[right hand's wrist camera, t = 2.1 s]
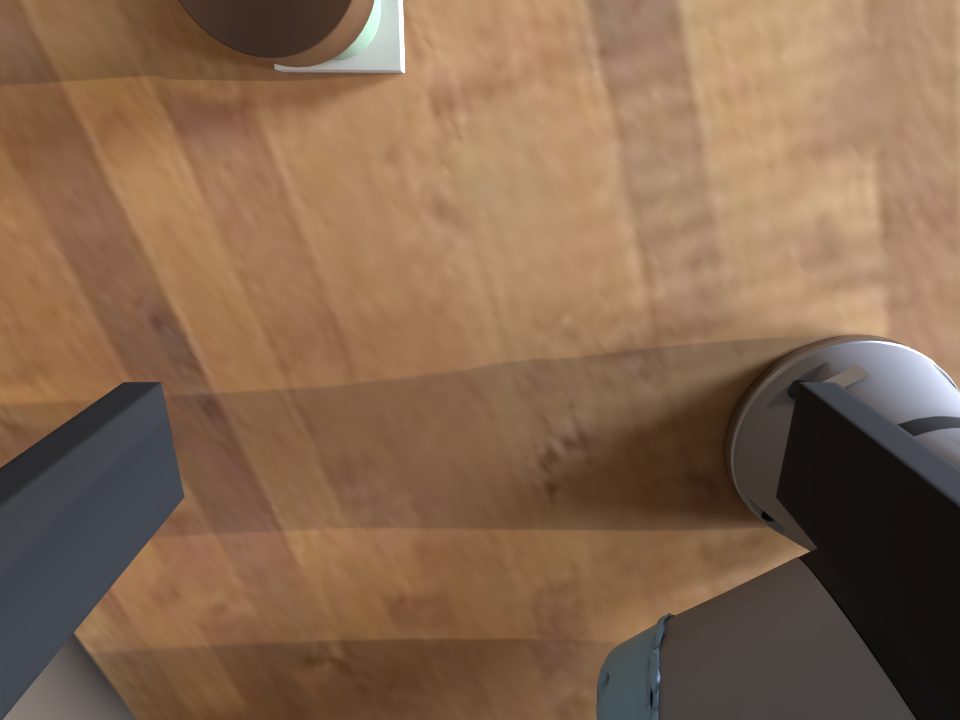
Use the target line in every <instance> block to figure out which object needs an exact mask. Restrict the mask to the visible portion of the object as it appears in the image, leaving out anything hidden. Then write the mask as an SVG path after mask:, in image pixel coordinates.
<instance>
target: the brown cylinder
mask: <svg viewBox="0 0 960 720" xmlns="http://www.w3.org/2000/svg"><path fill="white" fill-rule="evenodd" d="M179 1H180V3H181V4H182V6H183V7H184V8H185V10H186V11H187V13H188V14H189V15H190V16H191V17H192V18H193V20H194V21H195V22H196V23H197V24H198V25H199V26H200V27H201V28H202V29H203V30H205V31H206V32H207V33H208V34H209V35H210V36H212V37H213V38H215V39H216V40H218V41H219V42H220V43H222V44H224V45H226V46H228V47H230V48H231V49H233V50H236V51H239V52H241V53H244V54H247V55H250V56H253V57H256V58H259V59H262V60H265V61H268V62H271V63H274V64H277V65H282V66H286V67H310V66H314V65H319V64H322V63H324V62H327V61H329V60H331V59H333V58H335V57H337V56H338V55H340V54H341V53H342V52H344V51H345V50H346V49H348V48H349V46H350V45H351V44H352V43H353V42H354V41H355V40H356V39H357V38H358V36H359V35H360V33H361V32H362V31H363V29H364V27H365V25H366V23H367V21H368V19H369V17H370V14H371V12H372V9H373V5H374V1H375V0H179Z"/></svg>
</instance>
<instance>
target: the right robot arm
mask: <svg viewBox="0 0 960 720" xmlns="http://www.w3.org/2000/svg"><path fill="white" fill-rule="evenodd" d="M725 461H726V467H727V471H728V474H729V477H730V480H731V482H732V484H733V486H734V488H735V489H736V491H737V492H738V494H739V495H740V497H741V498H742V500H743V501H744V502H745V504H746V505H747V506H748V508H749V509H750V510H751V511H752V512H753V513H754V514H755V515H756V516H757V517H758V518H759V519H761V520H762V521H763V522H764V523H765V524H766V525H768V526H769V527H770V528H772V529H773V530H775V531H777V532H778V533H780V534H782V535H784V536H786V537H787V538H789V539H790V540H792V541H794V542H795V543H797V544H799V545H801V546H802V547H804V548H806V549H807V550H809V551H811V552H809V553H806V554H804V555H802V556H800V557H796V558H794V559H792V560H790V561H788V562H786V563H784V564H782V565H780V566H778V567H776V568H774V569H772V570H770V571H768V572H766V573H764V574H762V575H760V576H758V577H756V578H754V579H752V580H749V581H747V582H745V583H743V584H741V585H739V586H737V587H735V588H733V589H731V590H729V591H727V592H725V593H723V594H721V595H718V596H716V597H714V598H712V599H710V600H708V601H706V602H703V603H701V604H699V605H697V606H695V607H693V608H690V609H688V610H686V611H684V612H682V613H680V614H678V615H675V616H674V615H672V614H670V613H669V614H667V615H665V616H663V617H661V618H660V619H659V621H658V622H657V624H656V625H654V626H652V627H650V628H649V629H647V630H645V631H643V632H641V633H640V634H638V635H636V636H634V637H632V638H631V639H629V640H627V641H625V642H623V643H621V644H620V645H618V646H617V647H615V648H614V649H613V650H612V651H611V652H610V653H609V654H608V656H607V657H606V659H605V661H604V663H603V665H602V667H601V670H600V674H599V678H598V684H597V720H960V391H959V390H958V389H957V387H956V385H955V384H954V382H953V381H952V380H951V378H950V377H949V376H948V375H947V374H946V373H945V372H944V371H943V370H942V369H941V368H940V367H939V366H937V365H936V364H935V363H934V362H933V361H931V360H930V359H929V358H927V357H926V356H924V355H922V354H920V353H919V352H917V351H915V350H913V349H911V348H909V347H907V346H905V345H903V344H901V343H898V342H895V341H893V340H890V339H886V338H882V337H877V336H870V335H846V336H838V337H832V338H828V339H824V340H820V341H817V342H814V343H811V344H809V345H806V346H804V347H801V348H799V349H797V350H795V351H793V352H791V353H790V354H788V355H786V356H785V357H783V358H781V359H780V360H779V361H777V362H776V363H774V364H773V365H772V366H770V367H769V368H768V369H767V370H766V371H765V372H763V373H762V374H761V375H760V376H759V377H758V378H757V379H756V380H755V381H754V383H753V384H752V385H751V386H750V387H749V388H748V390H747V391H746V392H745V394H744V395H743V397H742V398H741V400H740V402H739V403H738V405H737V407H736V409H735V411H734V413H733V415H732V417H731V420H730V423H729V426H728V430H727V435H726V441H725ZM183 498H184V493H183V488H182V483H181V478H180V473H179V468H178V463H177V458H176V454H175V449H174V444H173V439H172V434H171V429H170V424H169V419H168V414H167V409H166V404H165V399H164V395H163V390H162V385H161V382H124V383H122V384H121V385H119V386H118V387H116V388H115V389H114V390H112V391H111V392H109V393H108V394H106V395H105V396H103V397H102V398H101V399H99V400H98V401H96V402H95V403H93V404H92V405H90V406H89V407H88V408H86V409H85V410H83V411H82V412H80V413H79V414H78V415H76V416H75V417H73V418H72V419H70V420H69V421H67V422H66V423H65V424H63V425H62V426H60V427H59V428H57V429H56V430H55V431H53V432H52V433H50V434H49V435H47V436H46V437H44V438H43V439H42V440H40V441H39V442H37V443H36V444H34V445H33V446H32V447H30V448H29V449H27V450H26V451H24V452H23V453H21V454H20V455H19V456H17V457H16V458H14V459H13V460H11V461H10V462H9V463H7V464H6V465H4V466H3V467H1V468H0V720H3V718H4V717H5V716H6V715H7V714H8V712H9V711H10V710H11V709H12V708H13V706H14V705H15V704H16V703H17V701H18V700H19V699H20V698H21V696H22V695H23V694H24V693H25V692H26V690H27V689H28V688H29V687H30V685H31V684H32V683H33V682H34V680H35V679H36V678H37V677H38V676H39V674H40V673H41V672H42V671H43V670H44V668H45V667H46V666H47V665H48V663H49V662H50V661H51V660H52V658H53V657H54V656H55V655H56V654H57V652H58V651H59V650H60V649H61V647H62V646H63V645H64V644H65V642H66V641H67V640H68V639H69V638H70V636H71V635H72V634H73V633H74V632H75V630H76V629H77V628H78V627H79V625H80V624H81V623H82V622H83V621H84V619H85V618H86V617H87V616H88V614H89V613H90V612H91V611H92V609H93V608H94V607H95V606H96V605H97V603H98V602H99V601H100V600H101V598H102V597H103V596H104V595H105V594H106V592H107V591H108V590H109V589H110V587H111V586H112V585H113V584H114V583H115V581H116V580H117V579H118V578H119V576H120V575H121V574H122V573H123V572H124V570H125V569H126V568H127V567H128V565H129V564H130V563H131V562H132V560H133V559H134V558H135V557H136V556H137V554H138V553H139V552H140V551H141V549H142V548H143V547H144V546H145V545H146V543H147V542H148V541H149V540H150V538H151V537H152V536H153V535H154V534H155V532H156V531H157V530H158V529H159V527H160V526H161V525H162V524H163V522H164V521H165V520H166V519H167V518H168V516H169V515H170V514H171V513H172V511H173V510H174V509H175V508H176V507H177V505H178V504H179V503H180V502H181V500H182V499H183Z"/></svg>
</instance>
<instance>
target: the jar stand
mask: <svg viewBox="0 0 960 720" xmlns="http://www.w3.org/2000/svg"><path fill="white" fill-rule="evenodd" d="M274 69H275V70H278V71H281V72H320V73H405V61H404V29H403V0H375V1H374V5H373V9H372V12H371V14H370V17H369V19H368V21H367V23H366V25H365V27H364V29H363V31H362V32H361V33H360V35H359V36H358V38H357V39H356V40H355V41H354V42H353V43H352V44H351V45H350V46H349V48H348V49H346V50H345V51H344V52H342V53H341V54H340V55H338V56H337V57H335V58H333V59H331V60H329V61H327V62H324V63H322V64H319V65H314V66H310V67H286V66H282V65H277V64H274Z"/></svg>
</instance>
